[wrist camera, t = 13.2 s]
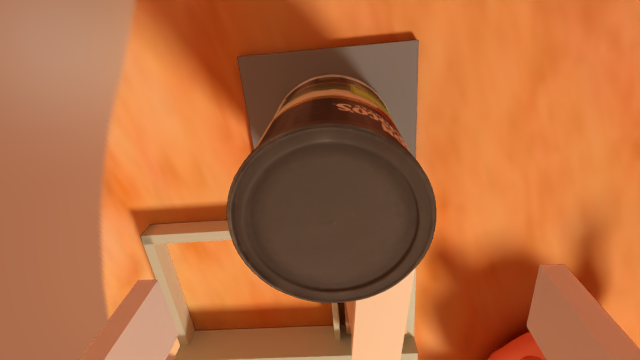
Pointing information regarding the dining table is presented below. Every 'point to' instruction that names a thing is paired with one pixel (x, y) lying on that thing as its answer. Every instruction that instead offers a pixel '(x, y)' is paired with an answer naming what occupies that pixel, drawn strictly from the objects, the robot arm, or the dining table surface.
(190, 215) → the dining table surface
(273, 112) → the mat
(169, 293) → the rack
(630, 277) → the dining table surface
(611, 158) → the dining table surface
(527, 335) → the teapot
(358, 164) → the coffee can
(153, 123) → the dining table surface
